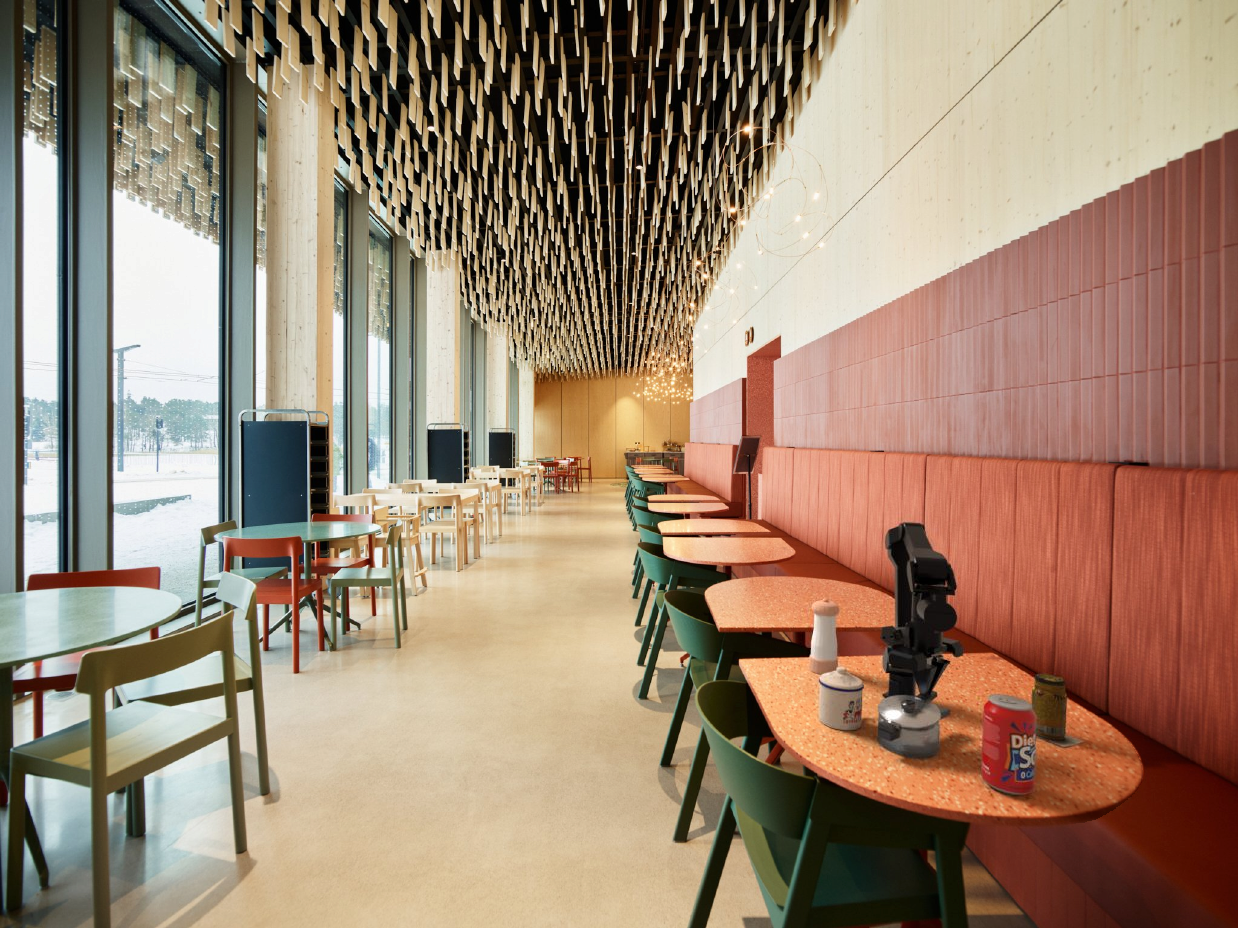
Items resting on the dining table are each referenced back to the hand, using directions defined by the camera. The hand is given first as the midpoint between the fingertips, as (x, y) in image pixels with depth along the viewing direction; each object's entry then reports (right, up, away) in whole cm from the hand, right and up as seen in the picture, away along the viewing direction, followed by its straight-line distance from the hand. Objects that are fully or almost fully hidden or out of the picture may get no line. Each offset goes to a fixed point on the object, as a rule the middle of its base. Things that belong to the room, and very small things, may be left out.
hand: (925, 694), depth 126 cm
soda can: (+5, -10, -18) cm, 21 cm away
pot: (-3, -9, -2) cm, 9 cm away
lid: (-4, -2, -3) cm, 5 cm away
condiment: (+28, -10, +3) cm, 29 cm away
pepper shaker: (-8, -8, +39) cm, 40 cm away
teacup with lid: (-14, -9, +8) cm, 18 cm away
